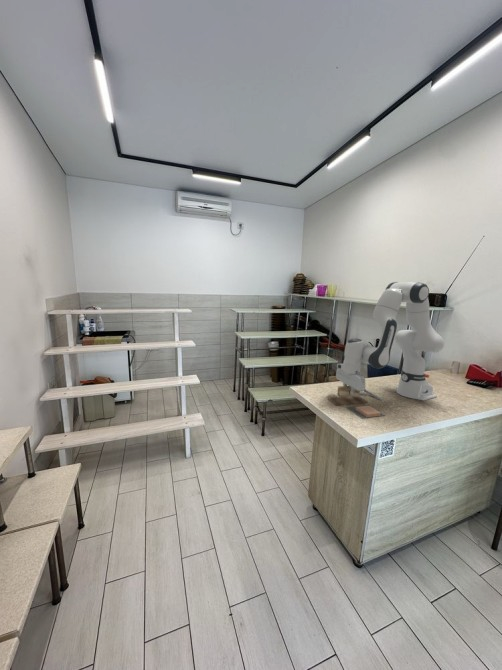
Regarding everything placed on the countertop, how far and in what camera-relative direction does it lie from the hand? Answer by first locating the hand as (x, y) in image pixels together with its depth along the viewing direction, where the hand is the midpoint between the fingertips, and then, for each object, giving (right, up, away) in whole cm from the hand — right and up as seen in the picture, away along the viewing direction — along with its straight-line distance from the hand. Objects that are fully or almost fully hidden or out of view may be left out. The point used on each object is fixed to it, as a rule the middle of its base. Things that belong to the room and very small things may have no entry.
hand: (348, 392), depth 140 cm
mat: (+4, -8, -11) cm, 14 cm away
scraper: (+2, -2, +1) cm, 3 cm away
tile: (+4, -6, -9) cm, 11 cm away
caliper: (+16, -5, +11) cm, 20 cm away
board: (0, -5, +1) cm, 5 cm away
